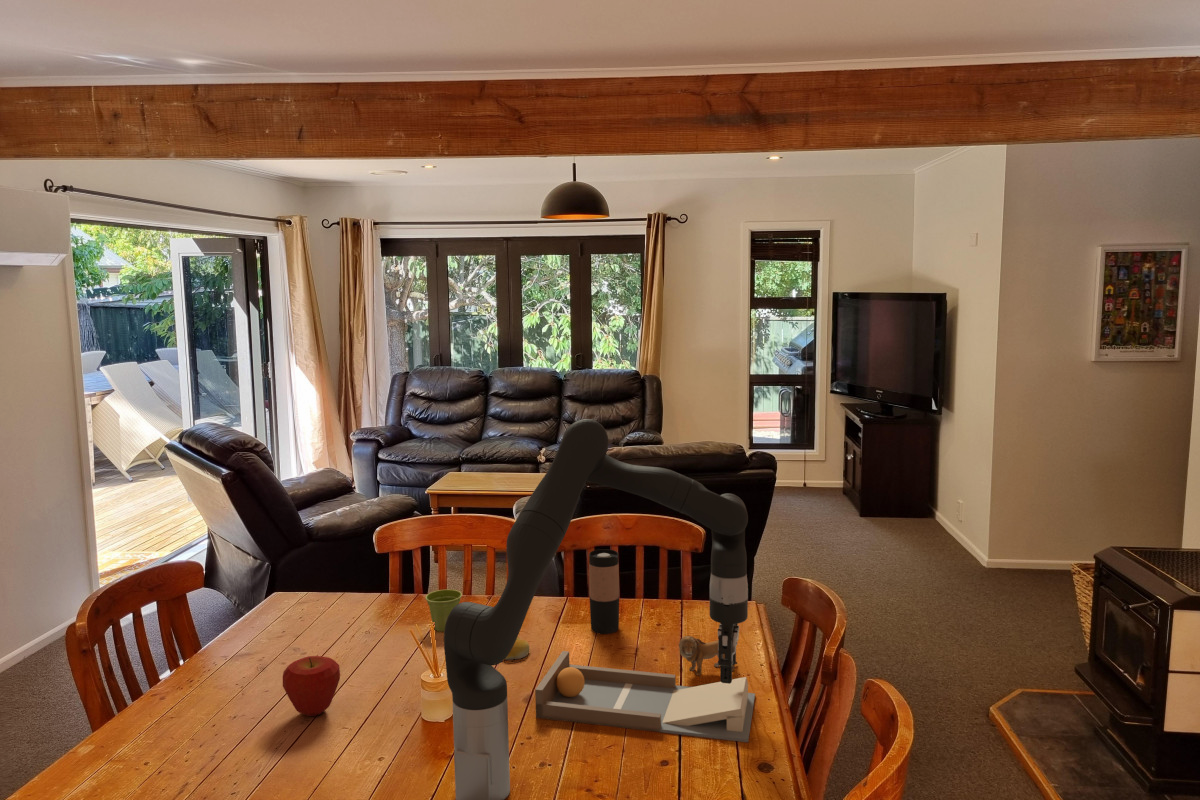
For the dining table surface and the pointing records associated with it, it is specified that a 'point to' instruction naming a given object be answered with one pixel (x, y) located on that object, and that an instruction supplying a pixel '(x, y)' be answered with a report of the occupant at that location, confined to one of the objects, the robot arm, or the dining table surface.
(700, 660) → the lion figurine
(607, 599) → the travel mug
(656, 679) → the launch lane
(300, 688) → the apple
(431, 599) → the plant pot
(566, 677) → the rubber ball
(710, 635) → the dining table surface
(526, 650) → the bread roll
